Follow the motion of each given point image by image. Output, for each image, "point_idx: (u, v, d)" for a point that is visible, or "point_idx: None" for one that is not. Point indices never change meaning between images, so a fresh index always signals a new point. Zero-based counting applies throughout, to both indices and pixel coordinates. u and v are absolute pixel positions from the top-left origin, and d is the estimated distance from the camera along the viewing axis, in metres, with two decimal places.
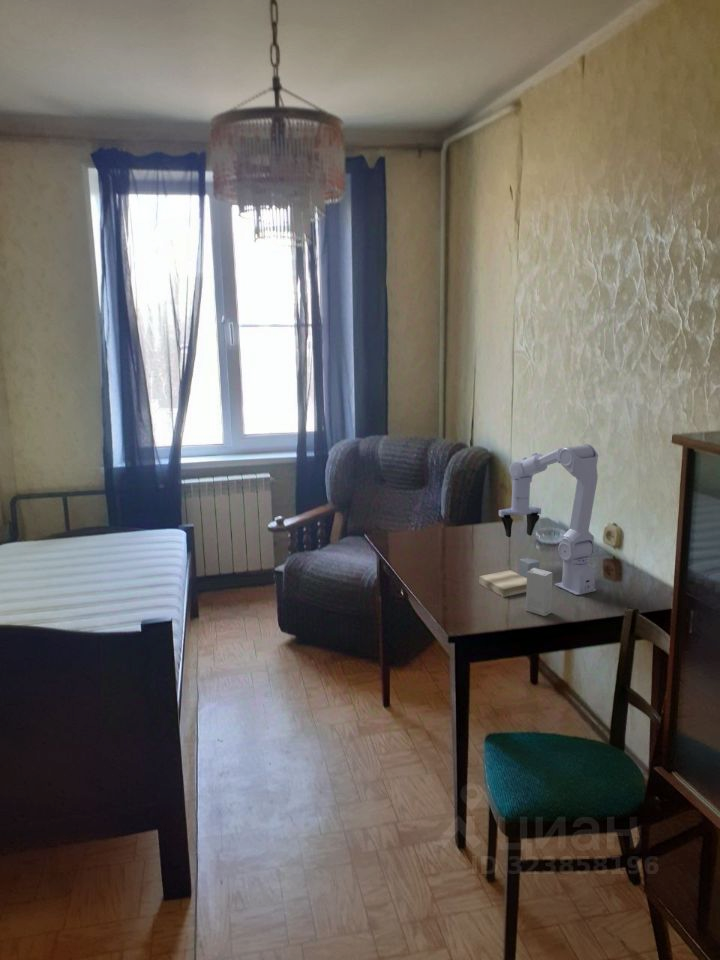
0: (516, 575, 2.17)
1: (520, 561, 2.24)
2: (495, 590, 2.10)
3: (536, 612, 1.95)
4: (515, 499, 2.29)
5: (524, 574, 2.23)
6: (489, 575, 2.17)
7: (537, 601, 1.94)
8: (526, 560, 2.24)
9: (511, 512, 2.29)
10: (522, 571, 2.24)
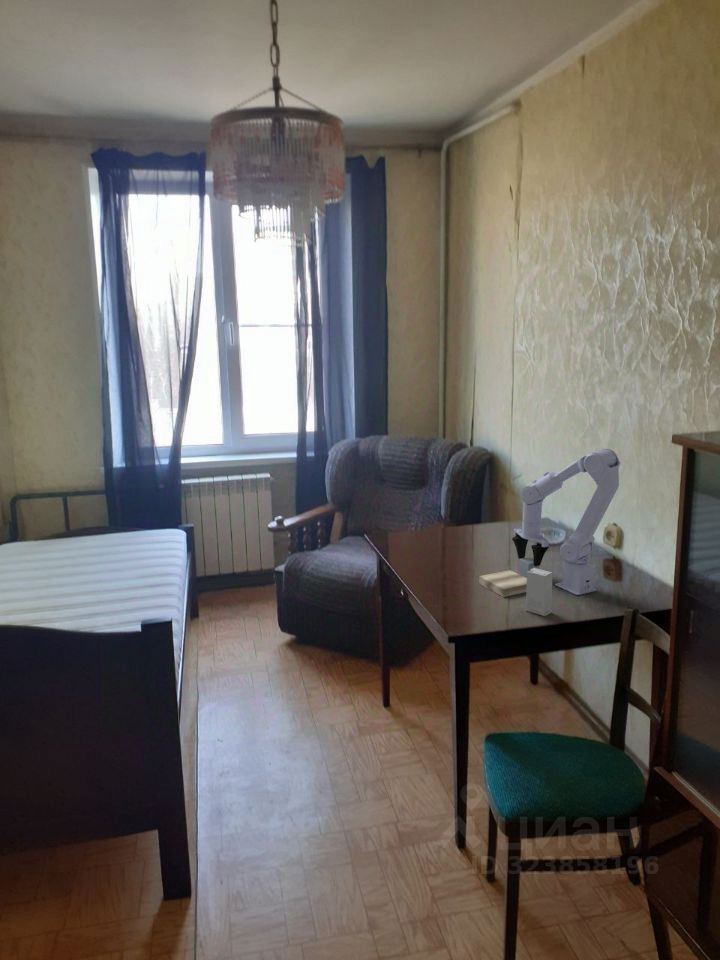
0: (516, 575, 2.17)
1: (520, 561, 2.24)
2: (495, 590, 2.10)
3: (536, 612, 1.95)
4: None
5: (524, 574, 2.23)
6: (489, 575, 2.17)
7: (537, 601, 1.94)
8: (526, 560, 2.24)
9: (518, 533, 2.25)
10: (522, 571, 2.24)
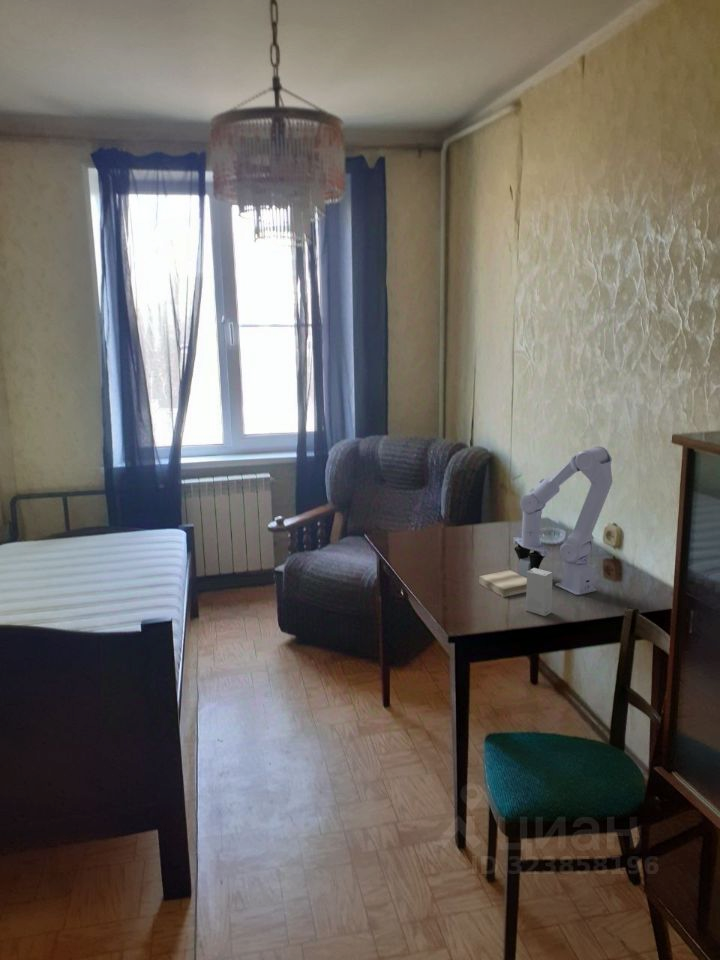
0: (516, 575, 2.17)
1: (520, 561, 2.24)
2: (495, 590, 2.10)
3: (536, 612, 1.95)
4: None
5: (524, 574, 2.23)
6: (489, 575, 2.17)
7: (537, 601, 1.94)
8: (526, 560, 2.24)
9: (517, 542, 2.25)
10: (522, 571, 2.24)
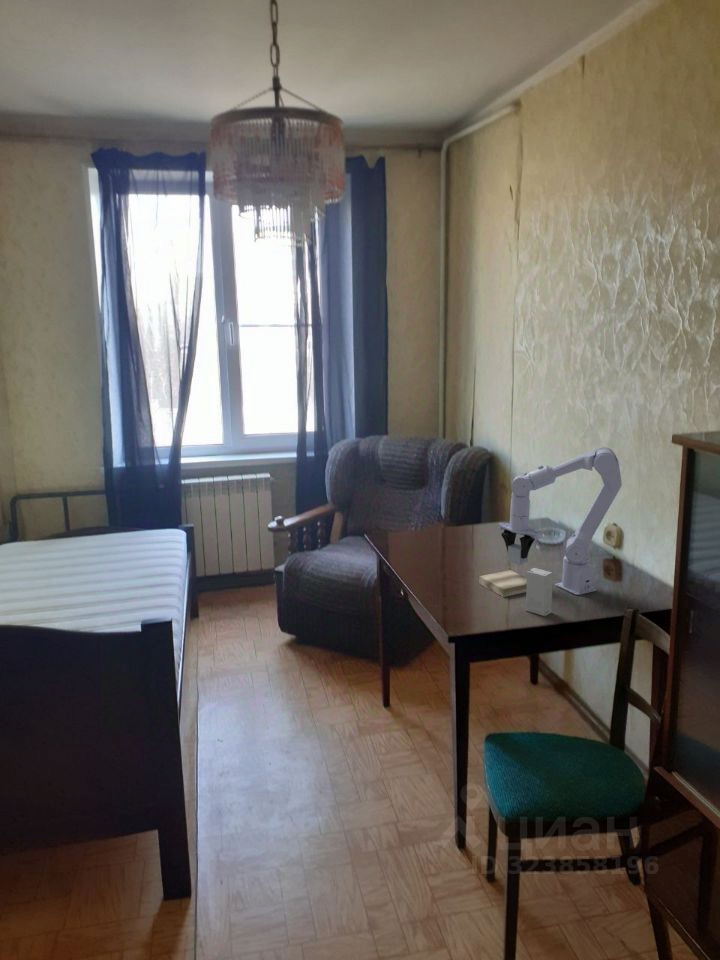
0: (516, 575, 2.17)
1: (509, 548, 2.17)
2: (495, 590, 2.10)
3: (536, 612, 1.95)
4: None
5: (514, 561, 2.16)
6: (489, 575, 2.17)
7: (537, 601, 1.94)
8: (515, 546, 2.16)
9: (504, 527, 2.17)
10: (511, 558, 2.17)
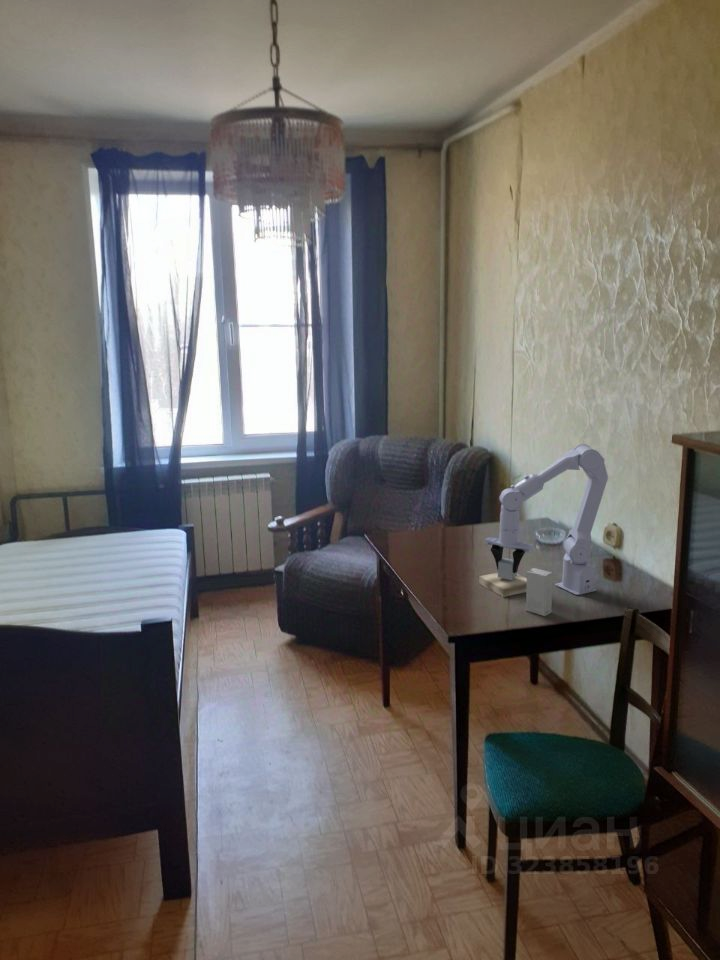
0: None
1: (500, 563, 2.12)
2: (495, 590, 2.10)
3: (536, 612, 1.95)
4: None
5: (506, 576, 2.12)
6: (489, 575, 2.17)
7: (537, 601, 1.94)
8: (506, 561, 2.13)
9: (494, 542, 2.12)
10: (502, 574, 2.13)
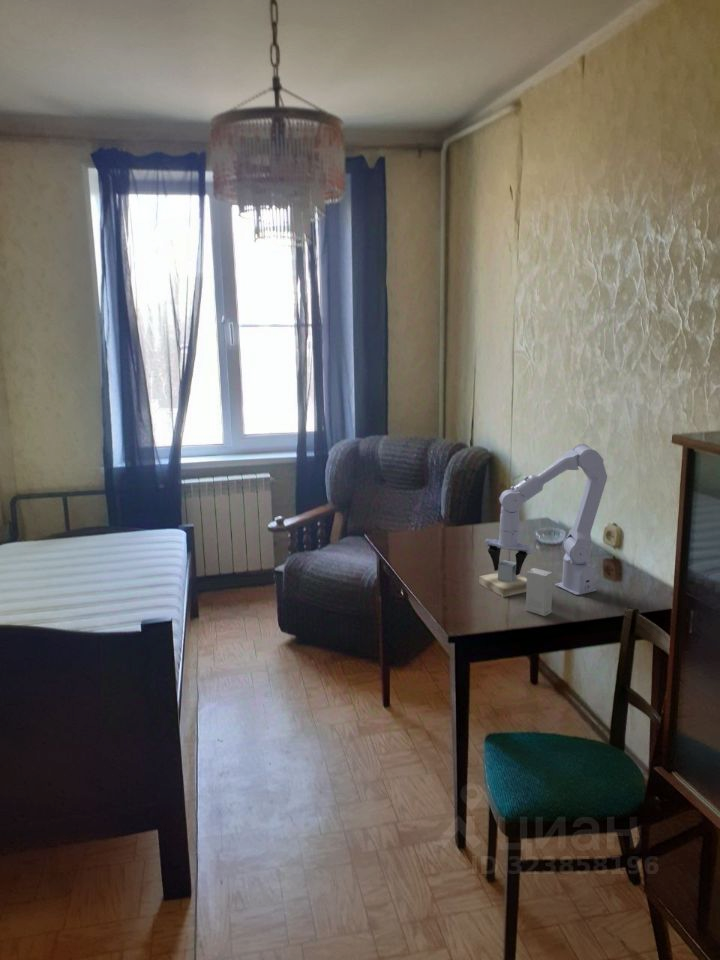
0: None
1: (500, 566, 2.13)
2: (495, 590, 2.10)
3: (536, 612, 1.95)
4: None
5: (506, 579, 2.12)
6: (489, 575, 2.17)
7: (537, 601, 1.94)
8: (505, 564, 2.13)
9: (494, 543, 2.12)
10: (502, 576, 2.13)
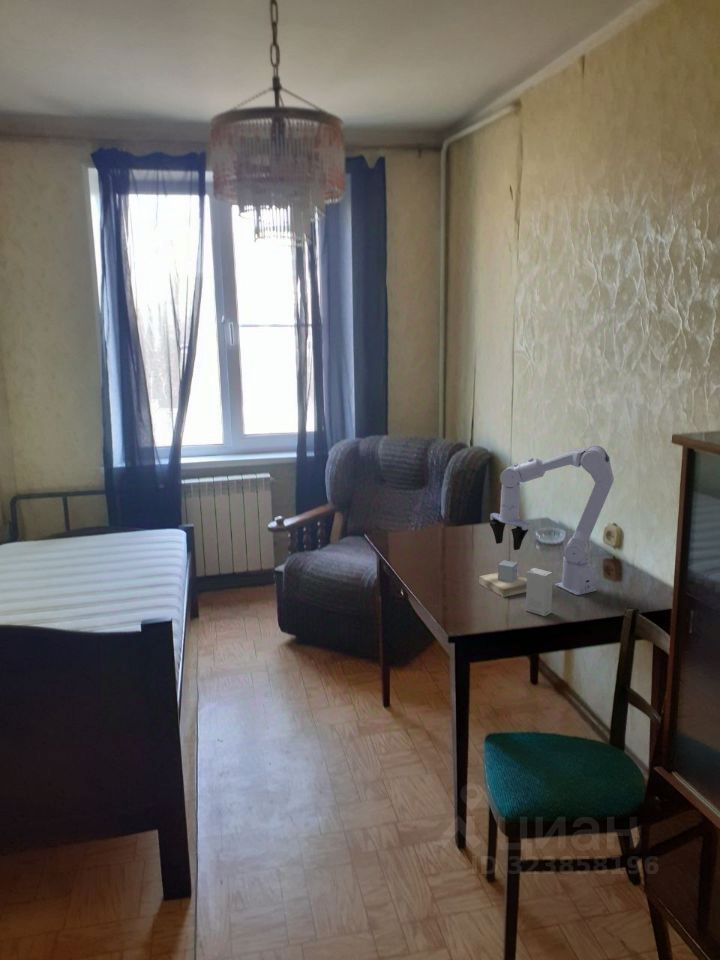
0: None
1: (500, 566, 2.13)
2: (495, 590, 2.10)
3: (536, 612, 1.95)
4: None
5: (506, 579, 2.12)
6: (489, 575, 2.17)
7: (537, 601, 1.94)
8: (505, 564, 2.13)
9: (495, 517, 2.21)
10: (502, 576, 2.13)
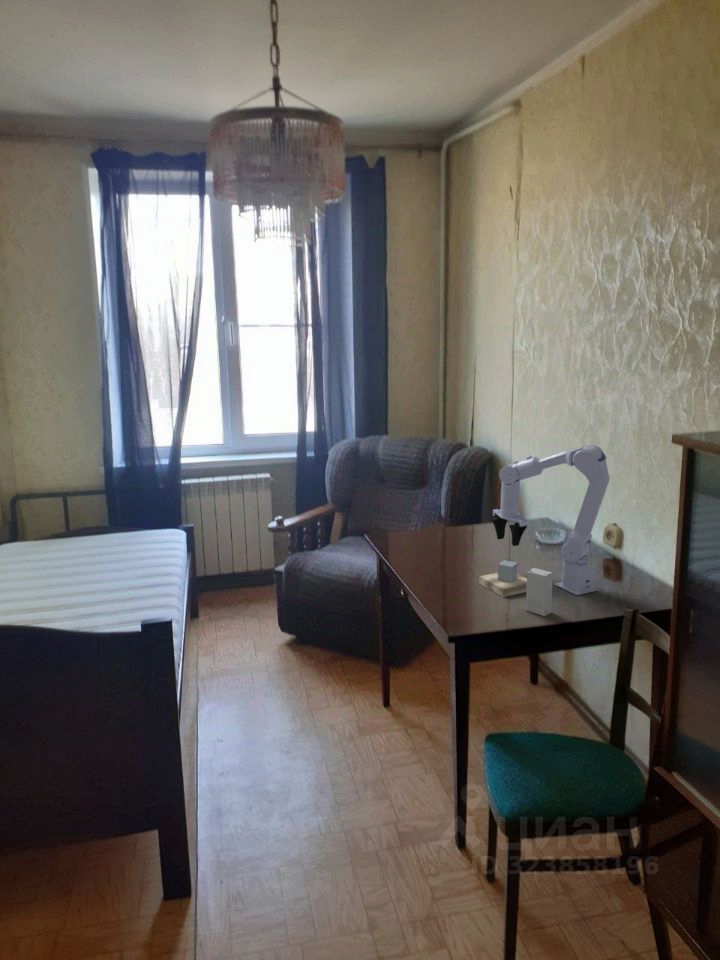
0: None
1: (500, 566, 2.13)
2: (495, 590, 2.10)
3: (536, 612, 1.95)
4: None
5: (506, 579, 2.12)
6: (489, 575, 2.17)
7: (537, 601, 1.94)
8: (505, 564, 2.13)
9: (497, 513, 2.25)
10: (502, 576, 2.13)
